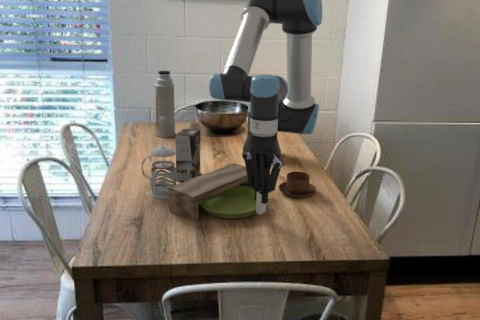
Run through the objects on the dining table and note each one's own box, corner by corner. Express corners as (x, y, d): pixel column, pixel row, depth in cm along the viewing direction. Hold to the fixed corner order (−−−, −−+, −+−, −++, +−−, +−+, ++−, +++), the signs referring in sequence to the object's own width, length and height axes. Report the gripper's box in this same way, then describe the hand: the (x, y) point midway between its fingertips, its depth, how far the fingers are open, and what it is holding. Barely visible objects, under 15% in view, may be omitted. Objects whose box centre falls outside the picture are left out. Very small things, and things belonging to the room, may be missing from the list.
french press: (180, 198, 157) (179, 120, 149) (142, 199, 155) (139, 121, 147) (178, 186, 166) (177, 112, 158) (143, 187, 164) (139, 113, 156)
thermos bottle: (156, 137, 218) (154, 72, 209) (156, 132, 226) (155, 69, 216) (174, 137, 219) (173, 72, 210) (174, 132, 226) (173, 69, 217)
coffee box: (193, 182, 170) (193, 136, 165) (175, 180, 171) (174, 134, 166) (201, 173, 178) (201, 129, 173) (183, 171, 179) (183, 127, 174)
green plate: (203, 192, 162) (203, 182, 161) (267, 195, 160) (267, 186, 159) (191, 220, 143) (191, 209, 142) (264, 225, 141) (264, 214, 140)
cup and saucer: (315, 202, 157) (316, 183, 155) (276, 198, 159) (277, 180, 157) (316, 188, 168) (317, 170, 166) (280, 184, 170) (281, 167, 168)
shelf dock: (257, 192, 163) (258, 170, 160) (193, 221, 142) (193, 196, 139) (234, 184, 169) (234, 163, 167) (169, 211, 148) (168, 187, 145)
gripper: (236, 131, 138) (235, 210, 146) (274, 140, 130) (271, 223, 138) (253, 126, 143) (251, 202, 151) (291, 134, 136) (287, 214, 143)
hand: (260, 212), depth 144 cm, fingers closed
